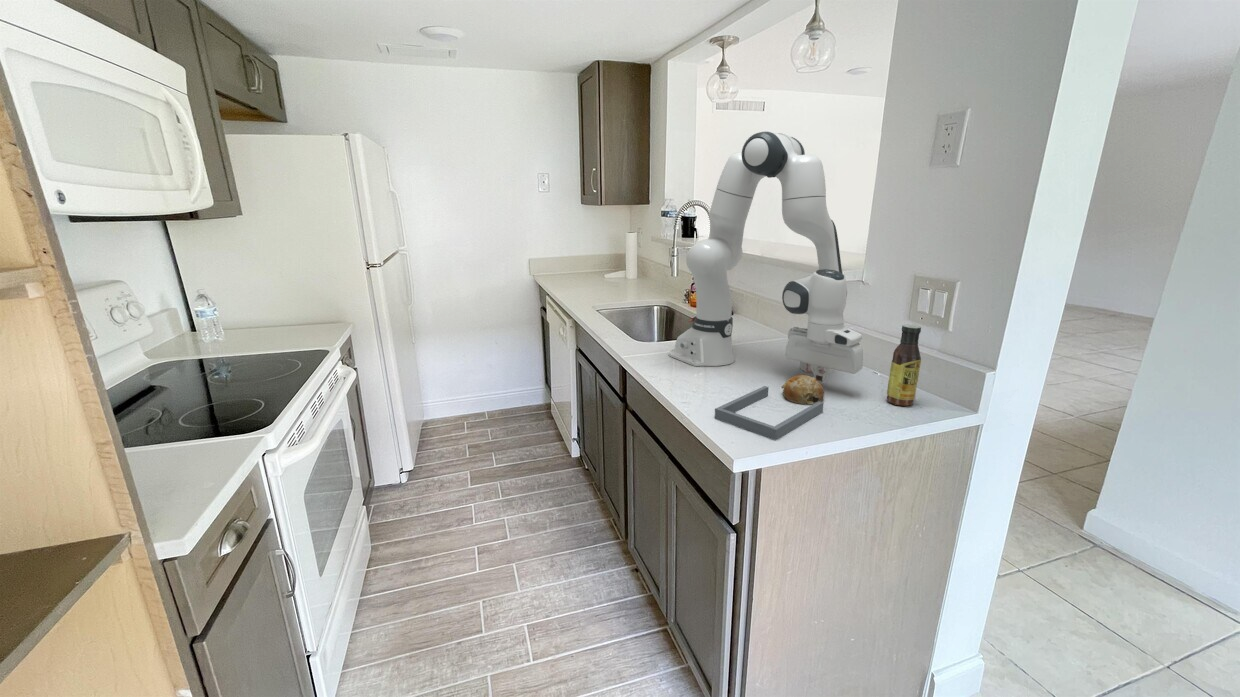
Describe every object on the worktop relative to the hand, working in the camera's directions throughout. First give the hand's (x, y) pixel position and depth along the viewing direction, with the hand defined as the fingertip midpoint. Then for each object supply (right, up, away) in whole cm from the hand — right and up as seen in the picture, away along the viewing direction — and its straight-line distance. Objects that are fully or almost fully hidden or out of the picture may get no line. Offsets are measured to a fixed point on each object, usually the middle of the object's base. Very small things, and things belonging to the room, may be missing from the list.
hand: (820, 381), depth 139 cm
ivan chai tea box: (+4, +2, +16) cm, 16 cm away
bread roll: (-7, -4, -5) cm, 10 cm away
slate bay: (-18, -7, -15) cm, 24 cm away
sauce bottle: (+16, -5, -10) cm, 20 cm away
